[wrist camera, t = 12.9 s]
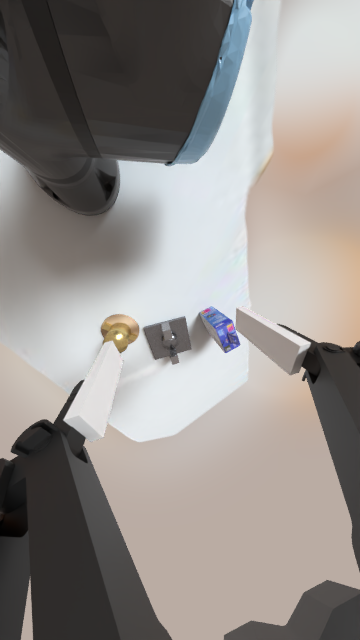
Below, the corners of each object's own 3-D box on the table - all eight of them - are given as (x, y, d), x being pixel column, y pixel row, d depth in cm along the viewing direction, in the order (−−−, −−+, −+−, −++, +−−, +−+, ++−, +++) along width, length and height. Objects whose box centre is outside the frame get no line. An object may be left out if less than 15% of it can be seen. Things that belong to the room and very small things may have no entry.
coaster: (94, 319, 37) (94, 320, 37) (132, 310, 38) (131, 311, 38) (111, 347, 42) (110, 349, 42) (143, 339, 44) (143, 340, 43)
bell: (100, 331, 39) (90, 346, 32) (108, 316, 37) (99, 328, 31) (131, 343, 43) (128, 358, 37) (140, 330, 41) (138, 343, 35)
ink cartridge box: (221, 326, 48) (246, 350, 35) (208, 333, 48) (228, 360, 36) (212, 304, 43) (238, 324, 31) (198, 312, 43) (218, 335, 31)
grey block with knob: (143, 327, 42) (142, 336, 36) (184, 316, 43) (189, 324, 38) (155, 357, 48) (156, 369, 43) (190, 347, 50) (195, 357, 44)
